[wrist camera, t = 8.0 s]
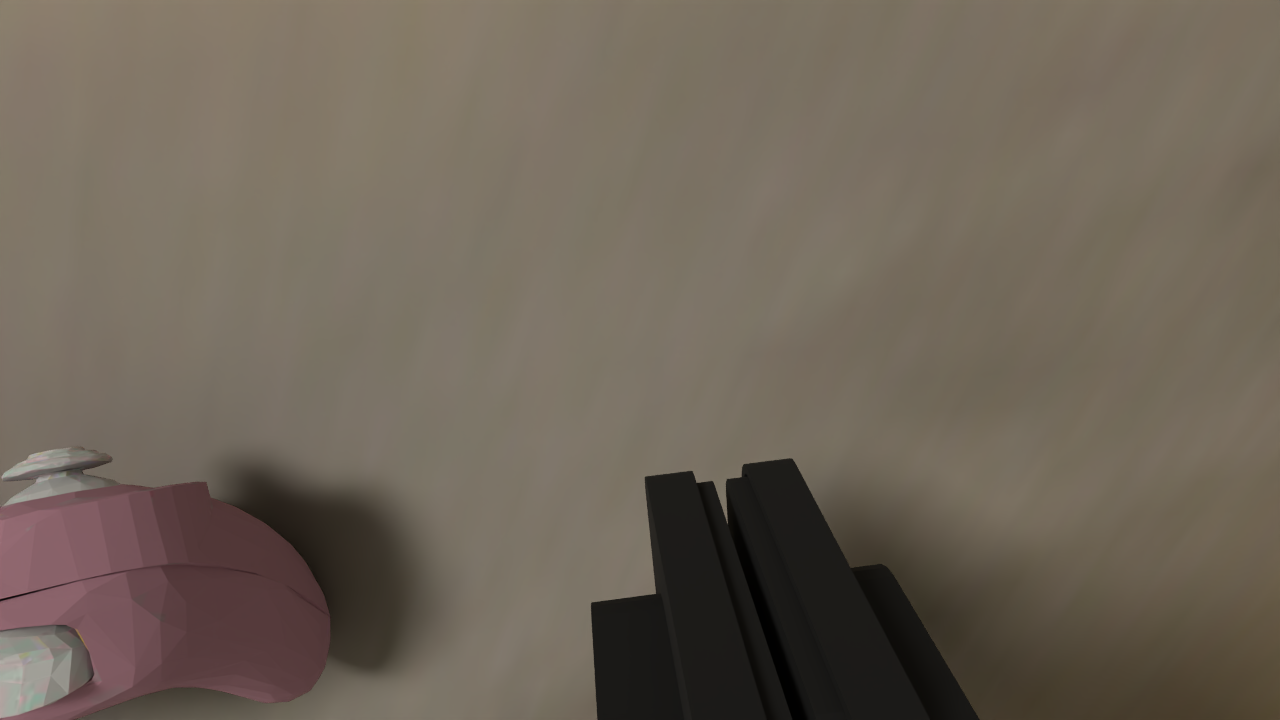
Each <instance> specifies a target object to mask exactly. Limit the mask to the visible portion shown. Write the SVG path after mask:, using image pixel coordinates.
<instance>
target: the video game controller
mask: <svg viewBox="0 0 1280 720" xmlns="http://www.w3.org/2000/svg"><path fill="white" fill-rule="evenodd" d="M112 460H113V459H112V457H111V456H109V455H107V454H105V453H99V452H97V451H96V450H85V449H84V448H83V447H69V448H62V449H54V450H49V451H44V452H40V453H35V454H32V455H29V457H28V459H27V460H26V461H23V462H20V463H18V464H16V465H15V466H14V467H13V468H12V469H10V470H8V471H6V472H5V473H4V474H3V476H2V477H1V478H2V480H3V481H18V480H30V479H36V483H34V484H33V485H31V486H29V487H28V488H26V489H25V490H23V491H21V492H20V493H18V494H17V495H15V496H13V497H12V498H10V499H9V500H8V501H7V502H6V503H5V504H4V505H3V506H2V507H0V720H75V719H78V718H80V717H83V716H86V715H89V714H92V713H94V712H97V711H100V710H103V709H106V708H108V707H111V706H114V705H117V704H119V703H122V702H125V701H128V700H131V699H133V698H136V697H139V696H143V695H147V694H151V693H154V692H158V691H162V690H166V689H170V688H178V687H198V688H206V689H212V690H217V691H223V692H226V693H230V694H234V695H237V696H241V697H245V698H248V699H252V700H256V701H259V702H263V703H274V702H287V701H291V700H293V699H295V698H297V697H299V696H301V695H303V694H305V693H307V692H309V691H310V690H311V689H312V687H313V686H314V684H315V683H316V682H317V680H318V679H319V677H320V675H321V673H322V672H323V670H324V668H325V665H326V660H327V655H328V651H329V645H330V640H331V634H330V618H331V617H330V613H329V610H328V607H327V603H326V600H325V597H324V594H323V592H322V590H321V588H320V587H319V585H318V583H317V581H316V579H315V578H314V576H313V574H312V572H311V570H310V569H309V567H308V565H307V563H306V562H305V560H304V559H303V558H302V557H301V556H300V554H299V553H298V552H297V551H296V550H295V548H294V547H293V546H292V545H291V544H290V543H289V542H288V541H286V540H285V539H284V538H283V537H282V536H280V535H279V534H278V533H277V532H275V531H274V530H273V529H272V528H271V527H269V526H268V525H267V524H266V523H264V522H262V521H260V520H259V519H257V518H255V517H253V516H251V515H250V514H248V513H246V512H244V511H242V510H241V509H239V508H237V507H235V506H232V505H229V504H227V503H224V502H221V501H218V500H216V499H213V498H210V494H209V490H208V487H207V483H206V482H191V483H183V484H175V485H168V486H162V487H157V488H150V487H143V486H136V485H122V484H120V483H118V482H116V481H114V480H112V479H106V478H101V477H95V476H90V475H84V474H83V470H85V469H90V468H94V467H98V466H101V465H103V464H106V463H109V462H112Z"/></svg>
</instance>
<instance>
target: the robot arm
mask: <svg viewBox="0 0 1280 720" xmlns="http://www.w3.org/2000/svg"><path fill="white" fill-rule="evenodd" d="M645 489H646V499H647V509H648V518H649V528H650V538H651V548H652V558H653V567H654V577H655V587H656V594H652V595H645V596H637V597H630V598H622V599H615V600H607V601H600V602H592V603H591V616H592V633H593V650H594V668H595V685H596V702H597V719H598V720H979V718H978V716H977V715H976V713H975V711H974V710H973V708H972V706H971V705H970V703H969V701H968V700H967V698H966V696H965V694H964V693H963V691H962V689H961V688H960V686H959V684H958V683H957V681H956V679H955V678H954V676H953V674H952V673H951V671H950V669H949V668H948V666H947V664H946V663H945V661H944V659H943V658H942V656H941V654H940V653H939V651H938V649H937V647H936V646H935V644H934V642H933V641H932V639H931V637H930V636H929V634H928V632H927V631H926V629H925V627H924V626H923V624H922V622H921V621H920V619H919V617H918V616H917V614H916V612H915V611H914V609H913V607H912V605H911V604H910V602H909V600H908V599H907V597H906V595H905V594H904V592H903V590H902V589H901V587H900V585H899V584H898V582H897V580H896V579H895V577H894V575H893V574H892V573H891V572H890V570H889V569H888V568H887V567H886V566H884V565H882V564H877V565H870V566H862V567H855V568H850V566H849V564H848V562H847V560H846V559H845V557H844V555H843V553H842V551H841V549H840V547H839V545H838V543H837V541H836V540H835V538H834V536H833V534H832V532H831V530H830V528H829V526H828V524H827V522H826V521H825V519H824V517H823V515H822V513H821V511H820V509H819V507H818V505H817V503H816V502H815V500H814V498H813V496H812V494H811V492H810V490H809V488H808V486H807V484H806V483H805V481H804V479H803V477H802V475H801V473H800V471H799V469H798V467H797V465H796V464H795V462H794V461H793V459H790V458H789V459H782V460H774V461H766V462H758V463H750V464H744V465H743V467H742V477H740V478H733V479H727V481H726V498H727V515H728V524H727V521H726V518H725V515H724V512H723V509H722V506H721V503H720V500H719V497H718V494H717V491H716V488H715V485H714V483H713V481H709V482H701V483H696V480H695V477H694V474H693V471H687V472H679V473H671V474H663V475H655V476H647V477H645Z"/></svg>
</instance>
